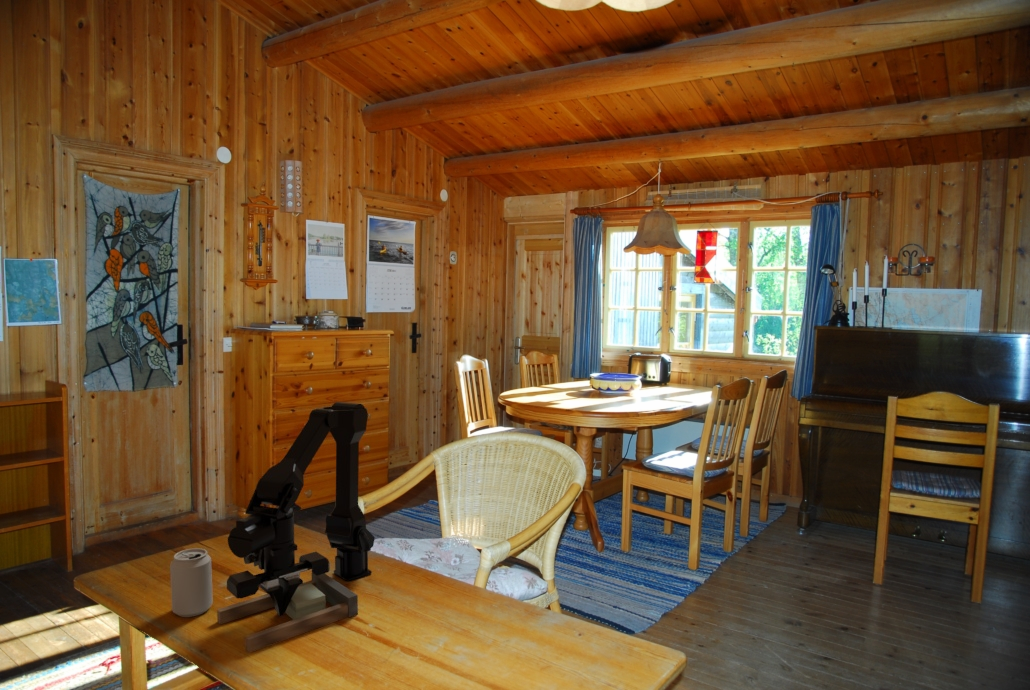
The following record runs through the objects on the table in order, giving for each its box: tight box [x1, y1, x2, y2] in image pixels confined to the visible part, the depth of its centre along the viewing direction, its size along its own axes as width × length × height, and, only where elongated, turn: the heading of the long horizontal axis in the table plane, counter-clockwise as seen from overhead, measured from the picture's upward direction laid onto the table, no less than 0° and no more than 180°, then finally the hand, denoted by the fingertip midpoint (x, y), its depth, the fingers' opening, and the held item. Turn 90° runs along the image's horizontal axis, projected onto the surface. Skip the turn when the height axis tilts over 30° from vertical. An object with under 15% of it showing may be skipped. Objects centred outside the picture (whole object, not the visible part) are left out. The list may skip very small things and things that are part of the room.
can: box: [169, 547, 214, 618], centre depth 140 cm, size 8×8×12 cm
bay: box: [216, 572, 359, 654], centre depth 137 cm, size 22×16×4 cm
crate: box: [285, 584, 327, 620], centre depth 140 cm, size 6×7×4 cm
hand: (280, 615), depth 137 cm, fingers closed
